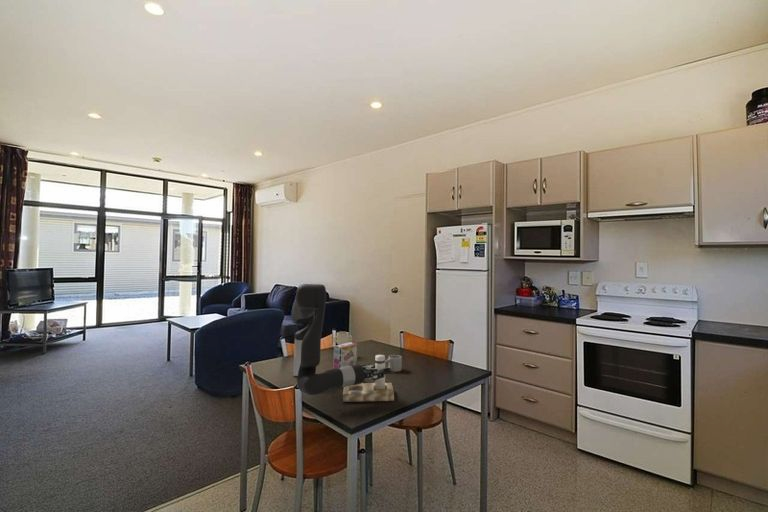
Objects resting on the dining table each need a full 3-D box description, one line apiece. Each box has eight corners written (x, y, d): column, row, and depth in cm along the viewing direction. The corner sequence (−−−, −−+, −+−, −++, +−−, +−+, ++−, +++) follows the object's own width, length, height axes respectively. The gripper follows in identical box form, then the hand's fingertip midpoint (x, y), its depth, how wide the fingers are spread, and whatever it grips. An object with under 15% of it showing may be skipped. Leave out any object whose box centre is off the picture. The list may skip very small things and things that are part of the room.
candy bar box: (340, 384, 161) (340, 347, 161) (332, 382, 164) (332, 345, 164) (357, 378, 169) (357, 343, 169) (349, 376, 172) (350, 341, 173)
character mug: (350, 353, 214) (350, 331, 214) (353, 356, 208) (353, 333, 208) (332, 354, 211) (332, 332, 211) (334, 357, 204) (334, 334, 204)
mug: (396, 366, 188) (396, 354, 188) (404, 370, 182) (404, 356, 182) (380, 370, 182) (380, 357, 182) (388, 373, 176) (388, 360, 176)
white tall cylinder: (375, 397, 146) (375, 357, 146) (374, 393, 150) (374, 354, 151) (385, 397, 147) (385, 357, 147) (384, 393, 151) (384, 354, 151)
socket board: (342, 401, 142) (342, 393, 142) (344, 390, 154) (344, 382, 154) (394, 400, 143) (394, 392, 143) (391, 389, 155) (391, 381, 155)
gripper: (359, 370, 135) (396, 363, 144) (341, 361, 147) (376, 355, 156) (359, 390, 135) (396, 382, 144) (341, 380, 147) (376, 372, 156)
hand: (385, 368), depth 150 cm, fingers open, 5 cm apart
